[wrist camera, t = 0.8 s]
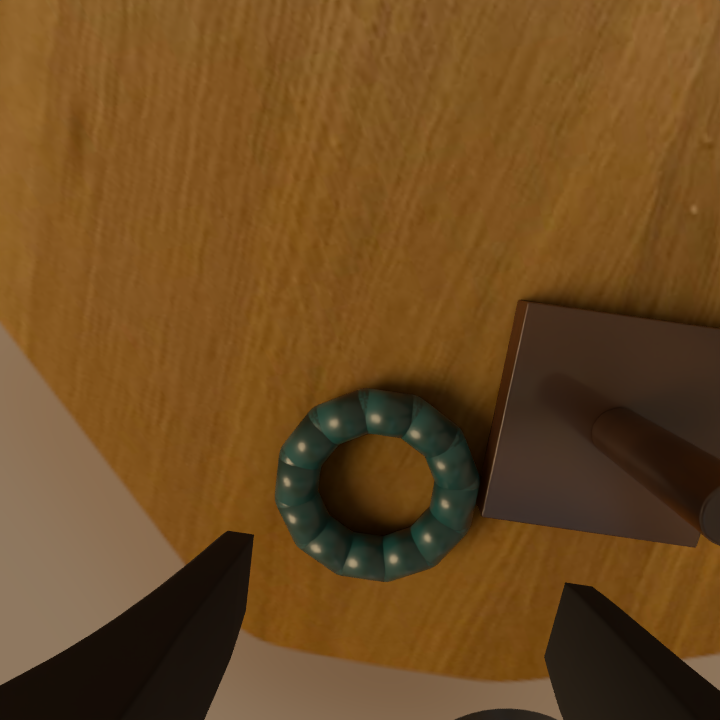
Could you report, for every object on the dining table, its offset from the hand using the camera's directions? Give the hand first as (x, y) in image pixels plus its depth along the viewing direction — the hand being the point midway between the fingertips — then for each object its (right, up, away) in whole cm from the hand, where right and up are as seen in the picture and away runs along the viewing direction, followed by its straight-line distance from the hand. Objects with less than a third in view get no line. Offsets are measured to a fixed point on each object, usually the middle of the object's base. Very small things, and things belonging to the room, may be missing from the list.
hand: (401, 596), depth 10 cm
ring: (0, 0, +8) cm, 8 cm away
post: (+9, +3, +8) cm, 13 cm away
